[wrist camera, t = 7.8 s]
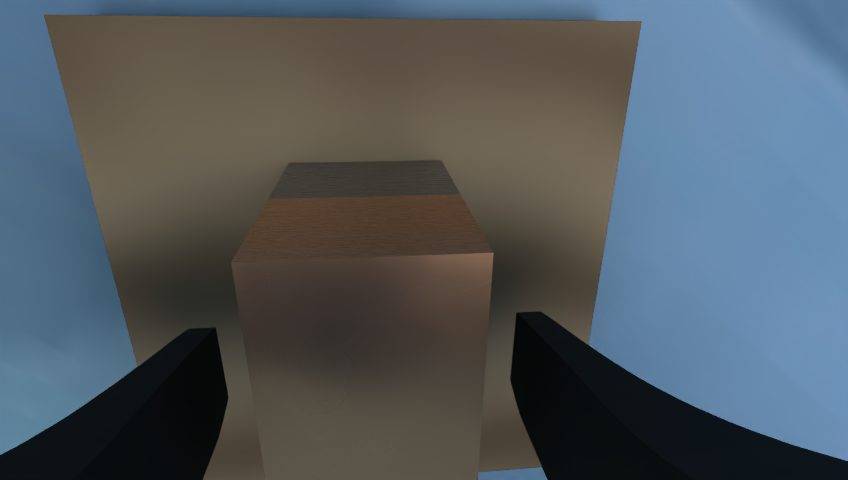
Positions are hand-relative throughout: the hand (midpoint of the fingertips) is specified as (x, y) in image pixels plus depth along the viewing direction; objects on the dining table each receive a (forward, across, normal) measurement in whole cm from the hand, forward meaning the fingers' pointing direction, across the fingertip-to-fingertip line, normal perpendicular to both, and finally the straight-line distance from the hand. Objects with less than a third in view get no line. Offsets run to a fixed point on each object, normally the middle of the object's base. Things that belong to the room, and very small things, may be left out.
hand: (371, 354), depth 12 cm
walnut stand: (+5, 0, 0) cm, 5 cm away
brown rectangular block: (+3, 0, 0) cm, 3 cm away
